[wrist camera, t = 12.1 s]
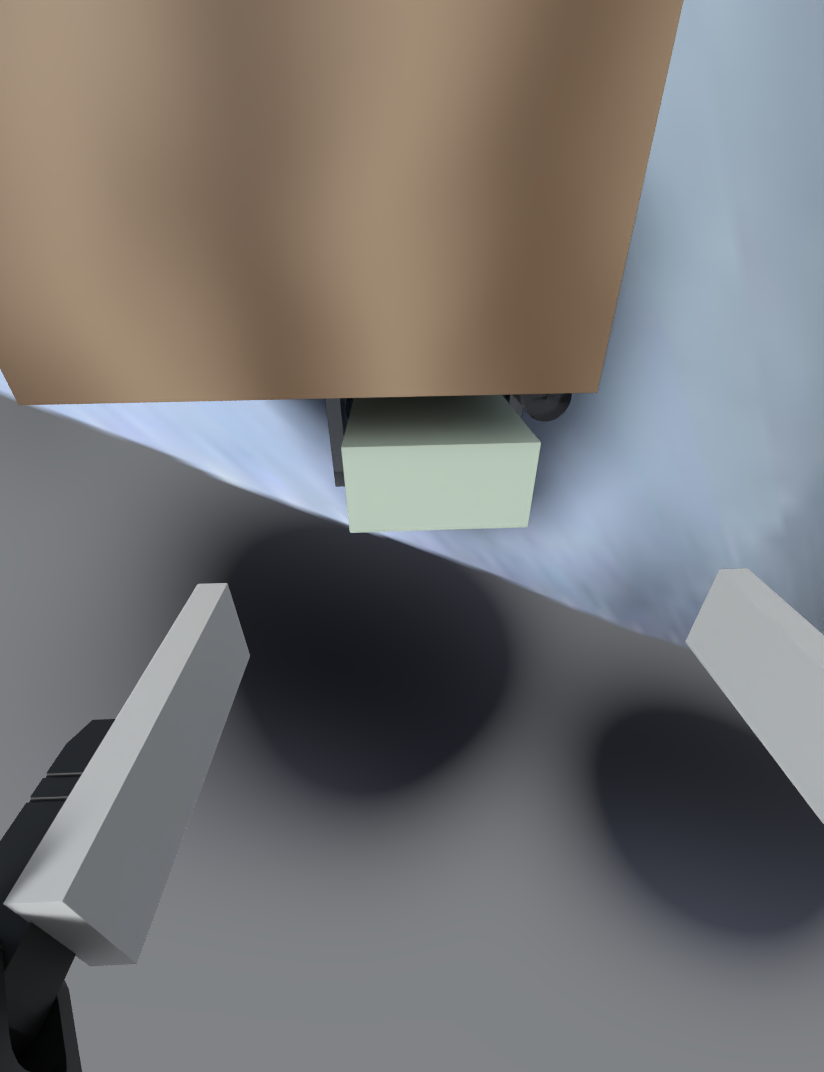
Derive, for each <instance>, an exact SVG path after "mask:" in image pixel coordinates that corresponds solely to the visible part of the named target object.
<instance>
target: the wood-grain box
mask: <svg viewBox="0 0 824 1072" xmlns="http://www.w3.org/2000/svg"><path fill="white" fill-rule="evenodd" d="M682 5H683V0H0V369H1V371H2V373H3V375H4V377H5V379H6V381H7V383H8V385H9V387H10V389H11V391H12V393H13V395H14V397H15V399H16V401H17V403H18V404H19V405H48V404H94V403H140V402H186V401H232V400H278V399H324V398H369V397H415V396H461V395H507V394H553V393H597V391H598V386H599V381H600V377H601V372H602V368H603V363H604V359H605V354H606V350H607V345H608V341H609V336H610V331H611V327H612V322H613V318H614V313H615V309H616V304H617V300H618V295H619V291H620V286H621V282H622V277H623V272H624V268H625V263H626V259H627V254H628V250H629V245H630V241H631V236H632V232H633V227H634V223H635V218H636V213H637V209H638V204H639V200H640V195H641V191H642V186H643V182H644V177H645V173H646V168H647V163H648V159H649V154H650V150H651V145H652V141H653V136H654V132H655V127H656V123H657V118H658V114H659V109H660V104H661V100H662V95H663V91H664V86H665V82H666V77H667V73H668V68H669V64H670V59H671V54H672V50H673V45H674V41H675V36H676V32H677V27H678V23H679V18H680V14H681V9H682Z"/></svg>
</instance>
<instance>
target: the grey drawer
mask: <svg viewBox="0 0 824 1072" xmlns="http://www.w3.org/2000/svg"><path fill="white" fill-rule="evenodd" d="M502 396H503V397H504V398H505V399H506V400H507V402H508V403H509V404H510V405H511V406H512V408H513V409H514V410H515V411H516V413H517V414H518V415H519V416H520V417H522V409H523V408H524V409H525V410H526V411H527V412H528V414H529V415H530V416H531V417H532V418H534V419H536V420H538V421H551V420H554V419H556V418H558V417H559V416H560V415H562V414H563V413H564V412H565V410H566V409H567V408H568V406H569V404H570V401H571V396H572V393H553V394H507V395H502ZM325 400H326V409H327V417H328V426H329V434H330V443H331V451H332V460H333V468H334V477H335V485H336V487H338V486H345V480H344V470H343V460H342V451H341V446H342V442H343V438H344V434H345V430H346V427H347V423H348V422H347V411H346V400H345V398H325Z"/></svg>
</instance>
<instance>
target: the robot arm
mask: <svg viewBox="0 0 824 1072" xmlns="http://www.w3.org/2000/svg"><path fill="white" fill-rule="evenodd" d="M685 642H686V643H687V645H688V646H689V647H690V649H691V650H692V651H693V653H694V654H695V655H696V657H697V658H698V659H699V661H700V662H701V663H702V664H703V666H704V667H705V668H706V669H707V671H708V672H709V673H710V675H711V676H712V678H713V679H714V680H715V682H716V683H717V684H718V685H719V687H720V688H721V689H722V691H723V692H724V694H725V695H726V696H727V697H728V699H729V700H730V701H731V703H732V704H733V705H734V707H735V708H736V709H737V711H738V712H739V713H740V715H741V716H742V717H743V719H744V720H745V721H746V723H747V724H748V725H749V726H750V728H751V729H752V730H753V732H754V733H755V734H756V736H757V737H758V738H759V740H760V741H761V742H762V744H763V745H764V746H765V748H766V749H767V750H768V751H769V753H770V754H771V755H772V757H773V758H774V759H775V760H776V762H777V763H778V765H779V766H780V767H781V769H782V770H783V771H784V772H785V774H786V775H787V777H788V778H789V779H790V780H791V782H792V783H793V784H794V786H795V787H796V788H797V790H798V791H799V792H800V794H801V795H802V796H803V797H804V799H805V800H806V801H807V803H808V804H809V805H810V807H811V808H812V809H813V811H814V812H815V813H816V815H817V816H818V817H819V819H820V820H821V821H822V823H823V824H824V635H823V634H822V633H821V632H819V631H818V630H817V629H816V628H815V627H814V626H813V625H811V624H810V623H809V622H808V621H807V620H806V619H805V618H803V617H802V616H801V615H800V614H799V613H798V612H797V611H795V610H794V609H793V608H792V607H791V606H790V605H789V604H787V603H786V602H785V601H784V600H783V599H782V598H781V597H779V596H778V595H777V594H776V593H775V592H774V591H773V590H771V589H770V588H769V587H768V586H767V585H766V584H765V583H763V582H762V581H761V580H760V579H759V578H758V577H757V576H755V575H754V574H753V573H752V572H751V571H750V570H749V569H720V570H719V572H718V574H717V576H716V578H715V580H714V582H713V584H712V586H711V589H710V591H709V593H708V595H707V597H706V599H705V601H704V603H703V605H702V608H701V610H700V612H699V614H698V616H697V618H696V620H695V622H694V624H693V627H692V629H691V631H690V633H689V635H688V637H687V639H686V641H685ZM249 657H250V655H249V651H248V648H247V645H246V642H245V639H244V635H243V632H242V629H241V626H240V622H239V619H238V616H237V613H236V610H235V606H234V603H233V600H232V597H231V594H230V590H229V587H228V584H227V583H219V584H198V585H197V586H196V588H195V590H194V591H193V593H192V594H191V596H190V598H189V600H188V601H187V603H186V604H185V606H184V608H183V609H182V611H181V613H180V614H179V616H178V617H177V619H176V621H175V622H174V624H173V626H172V627H171V629H170V631H169V632H168V634H167V635H166V637H165V639H164V640H163V642H162V644H161V645H160V647H159V649H158V650H157V652H156V653H155V655H154V657H153V658H152V660H151V662H150V663H149V665H148V667H147V669H146V670H145V672H144V673H143V675H142V676H141V678H140V680H139V681H138V683H137V685H136V686H135V688H134V690H133V692H132V693H131V695H130V696H129V698H128V700H127V701H126V703H125V704H124V706H123V708H122V710H121V711H120V713H119V714H118V716H117V718H116V719H106V720H105V719H104V720H92V721H91V722H90V723H89V724H88V725H87V726H85V727H84V728H83V729H82V730H81V731H80V732H79V733H78V734H77V735H76V736H75V737H73V738H72V739H71V740H70V741H69V742H68V743H67V744H66V745H65V747H64V748H63V750H62V751H61V752H60V754H59V756H58V757H57V758H56V760H55V762H54V763H53V764H52V766H51V767H50V769H49V770H48V772H47V776H46V778H43V779H42V780H41V782H40V783H39V785H38V786H37V788H36V789H35V791H34V792H33V794H32V795H31V800H30V802H29V803H26V804H25V806H24V807H23V808H22V810H21V812H20V813H19V814H18V816H17V818H16V819H15V821H14V822H13V823H12V825H11V826H10V828H9V829H8V831H7V832H6V833H5V835H4V836H3V838H2V840H1V841H0V1072H82V1069H81V1063H80V1057H79V1051H78V1044H77V1038H76V1032H75V1025H74V1019H73V1013H72V1006H71V1000H70V994H69V989H68V987H67V984H66V982H65V980H64V979H65V977H66V975H67V972H68V970H69V968H70V966H71V964H72V962H73V959H74V957H75V956H77V957H78V958H79V959H81V960H82V961H84V962H85V963H86V964H88V965H89V966H104V965H125V964H137V962H138V959H139V956H140V953H141V951H142V948H143V945H144V942H145V940H146V937H147V934H148V932H149V929H150V926H151V924H152V921H153V918H154V915H155V912H156V910H157V907H158V904H159V902H160V899H161V896H162V894H163V891H164V888H165V885H166V883H167V880H168V877H169V874H170V872H171V869H172V866H173V863H174V861H175V858H176V855H177V853H178V850H179V847H180V845H181V842H182V839H183V836H184V834H185V831H186V828H187V826H188V823H189V820H190V817H191V815H192V812H193V809H194V806H195V804H196V801H197V798H198V796H199V793H200V790H201V787H202V785H203V782H204V779H205V776H206V774H207V771H208V768H209V765H210V763H211V760H212V757H213V755H214V752H215V749H216V746H217V744H218V741H219V738H220V736H221V733H222V730H223V727H224V725H225V722H226V719H227V716H228V714H229V711H230V708H231V706H232V703H233V700H234V697H235V695H236V692H237V689H238V686H239V684H240V681H241V678H242V676H243V673H244V670H245V667H246V665H247V662H248V659H249Z"/></svg>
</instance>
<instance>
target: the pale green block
mask: <svg viewBox="0 0 824 1072" xmlns="http://www.w3.org/2000/svg"><path fill="white" fill-rule="evenodd" d="M540 446H541V442H540V441H539V439H538V438H537V437H536V436H535V434H534V433H533V432H532V431H531V430H530V428H529V427H528V426H527V425H526V423H525V422H524V421H523V420H522V419H521V417H520V416H519V415H518V414H517V413H516V411H515V410H514V409H513V408H512V406H511V405H510V404H509V403H508V402H507V400H506V399H505V398H504V397H503V396H502V395H461V396H415V397H369V398H354V399H353V403H352V407H351V411H350V415H349V419H348V423H347V427H346V430H345V434H344V438H343V442H342V446H341V451H342V460H343V470H344V480H345V489H346V499H347V508H348V518H349V527H350V533H355V532H356V533H357V532H389V531H420V530H452V529H483V528H515V527H528V521H529V515H530V508H531V502H532V496H533V490H534V483H535V477H536V471H537V465H538V459H539V452H540Z"/></svg>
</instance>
